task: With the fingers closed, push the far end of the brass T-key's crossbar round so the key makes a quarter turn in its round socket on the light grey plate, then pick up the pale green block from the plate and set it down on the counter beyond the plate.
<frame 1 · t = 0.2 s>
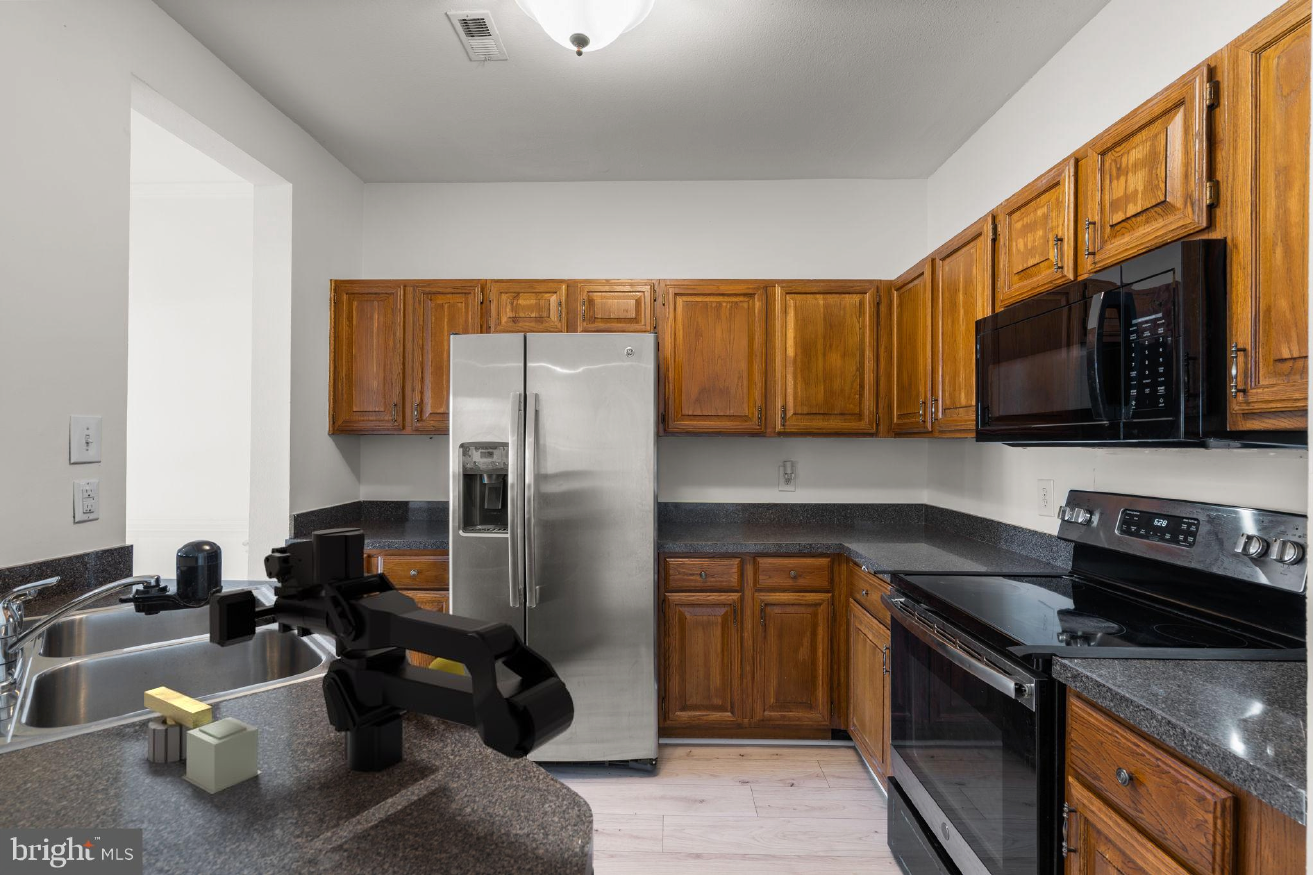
hand: (256, 599, 89), 17 cm above the table, tool horizontal, fingers open, 9 cm apart
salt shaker: (394, 711, 93), on the table
lemon: (445, 710, 93), on the table
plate: (197, 771, 75), on the table
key: (153, 740, 81), point 1 cm above the table, touching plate
pale green block: (222, 774, 73), point 1 cm above the table, touching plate
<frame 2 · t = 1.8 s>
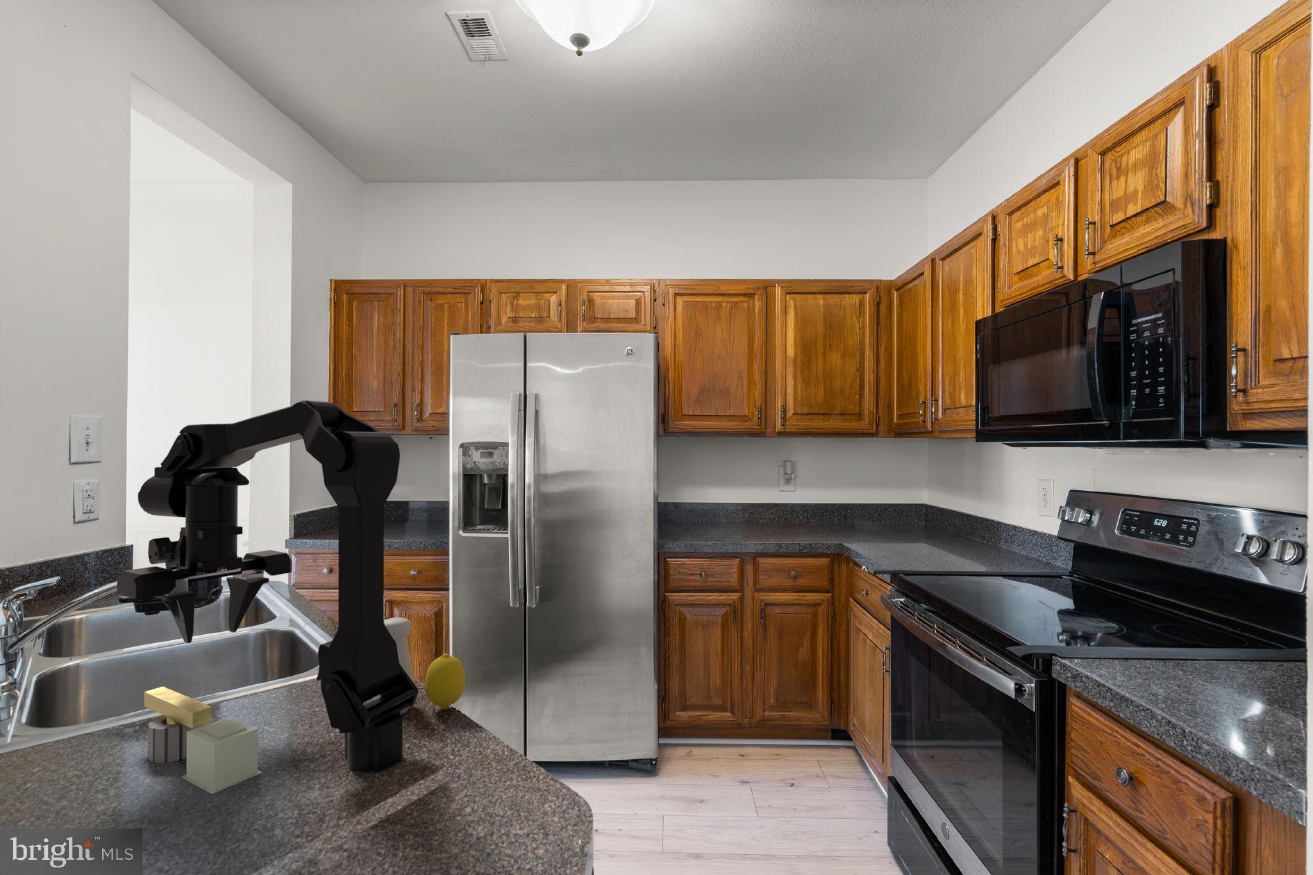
hand: (210, 637, 86), 13 cm above the table, tool pointing down, fingers open, 5 cm apart
nothing on the table moved.
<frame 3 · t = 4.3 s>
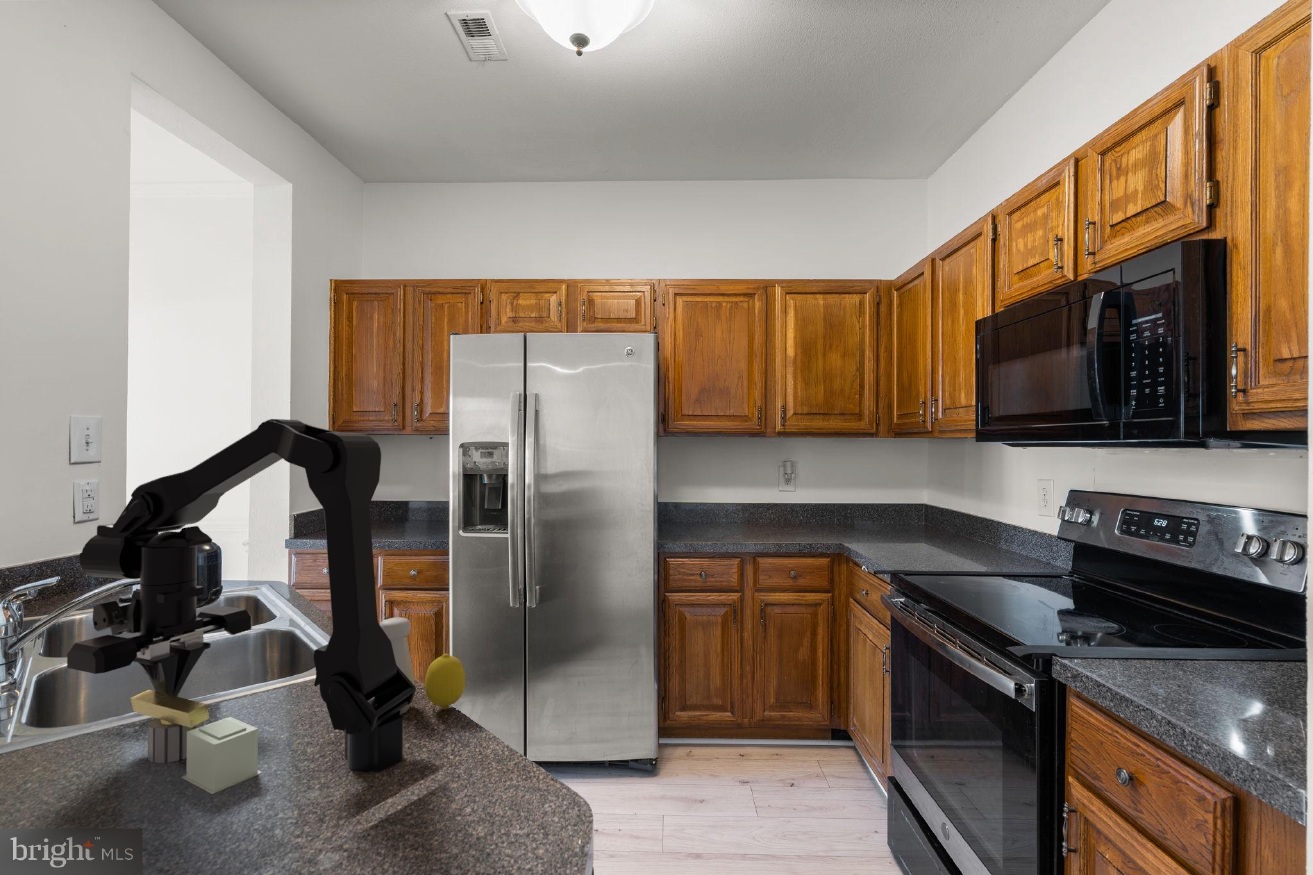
hand: (167, 704, 82), 5 cm above the table, tool pointing down, fingers closed
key: (150, 741, 81), point 1 cm above the table, tilted 10°, touching gripper, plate
everything else where it was.
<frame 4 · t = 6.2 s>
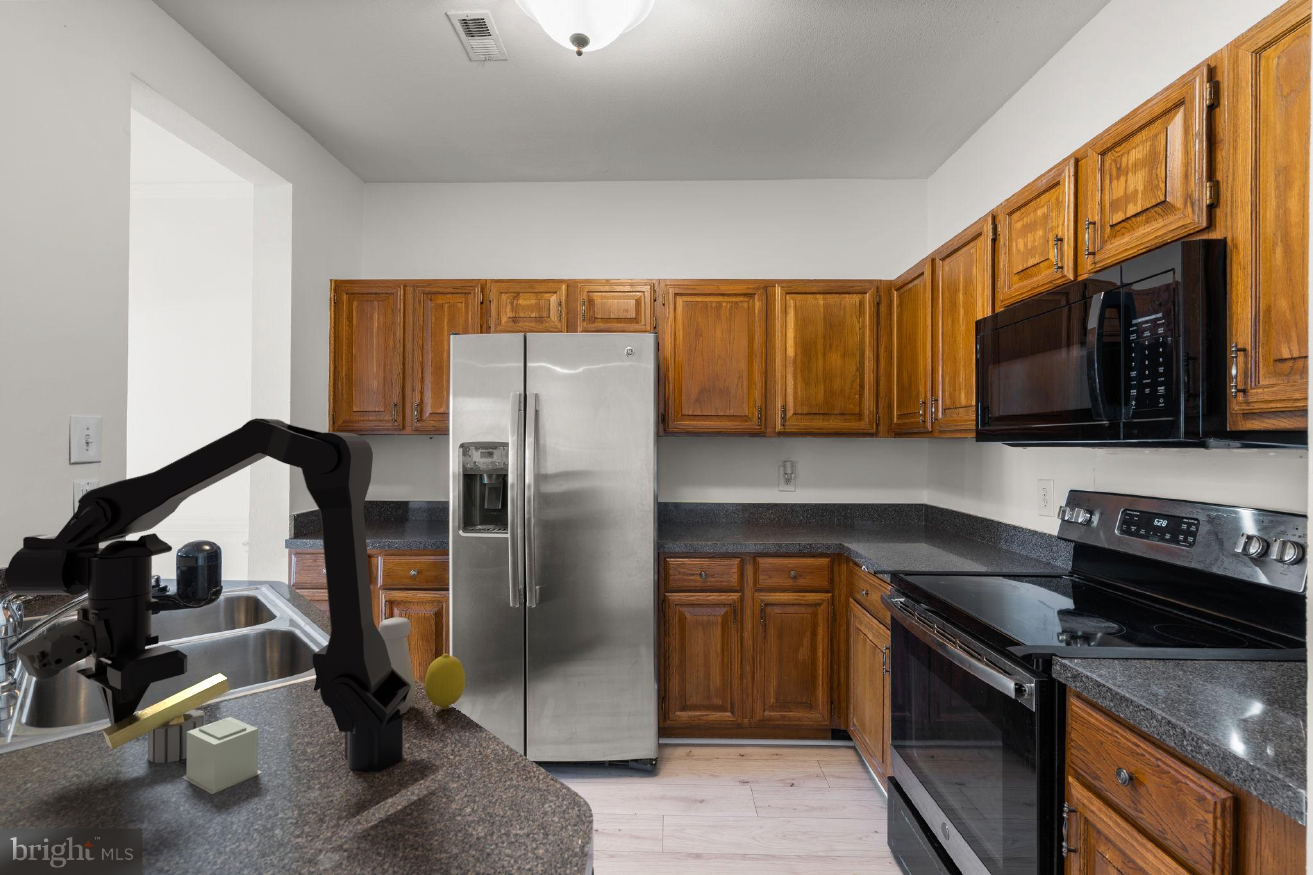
hand: (119, 728, 75), 5 cm above the table, tool pointing down, fingers closed
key: (120, 780, 74), resting on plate, tilted 15°, touching gripper
everything else where it was.
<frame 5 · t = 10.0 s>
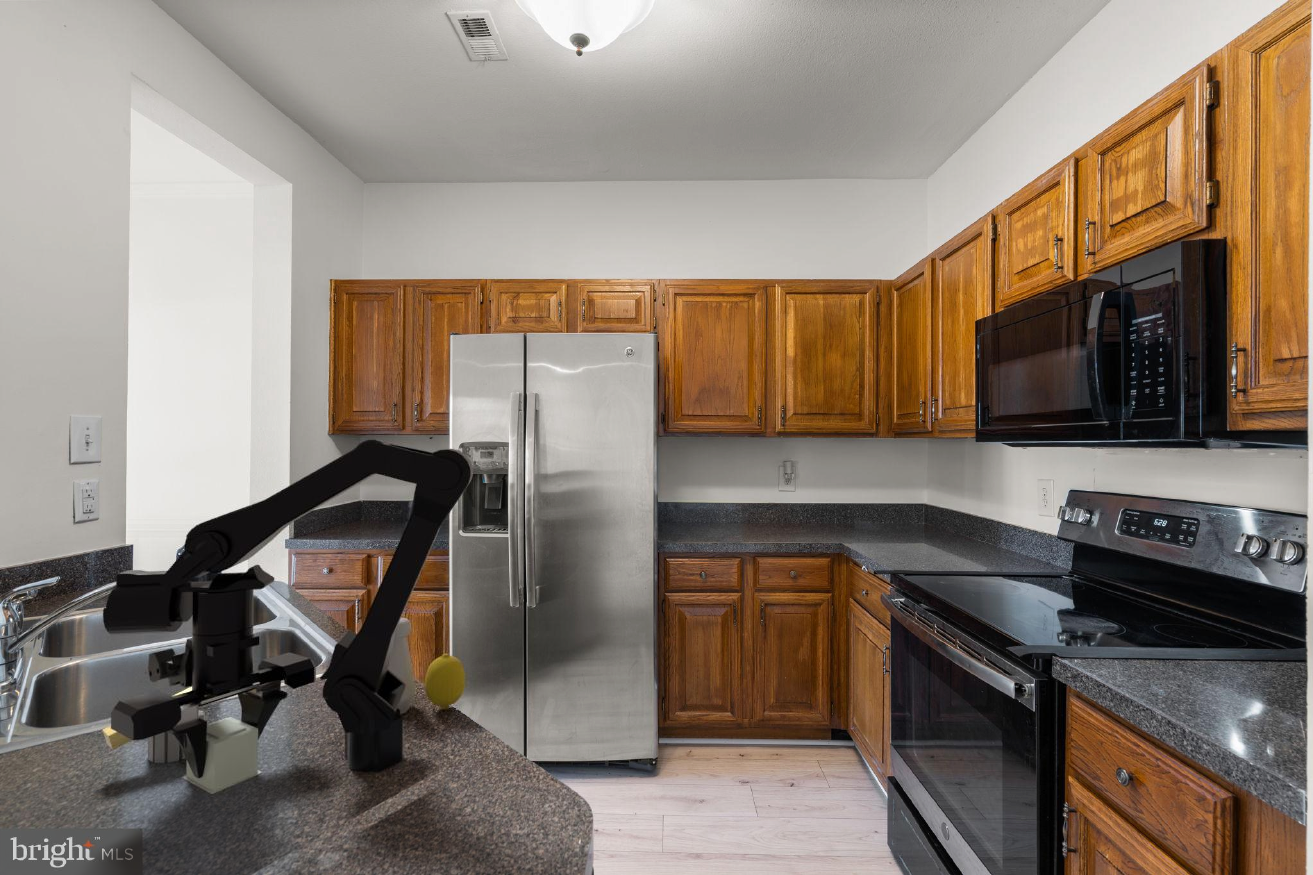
hand: (222, 767, 73), 2 cm above the table, tool pointing down, fingers closed on pale green block, 4 cm apart
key: (121, 780, 74), resting on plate, tilted 15°
pale green block: (222, 774, 73), point 1 cm above the table, touching gripper, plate
everything else where it was.
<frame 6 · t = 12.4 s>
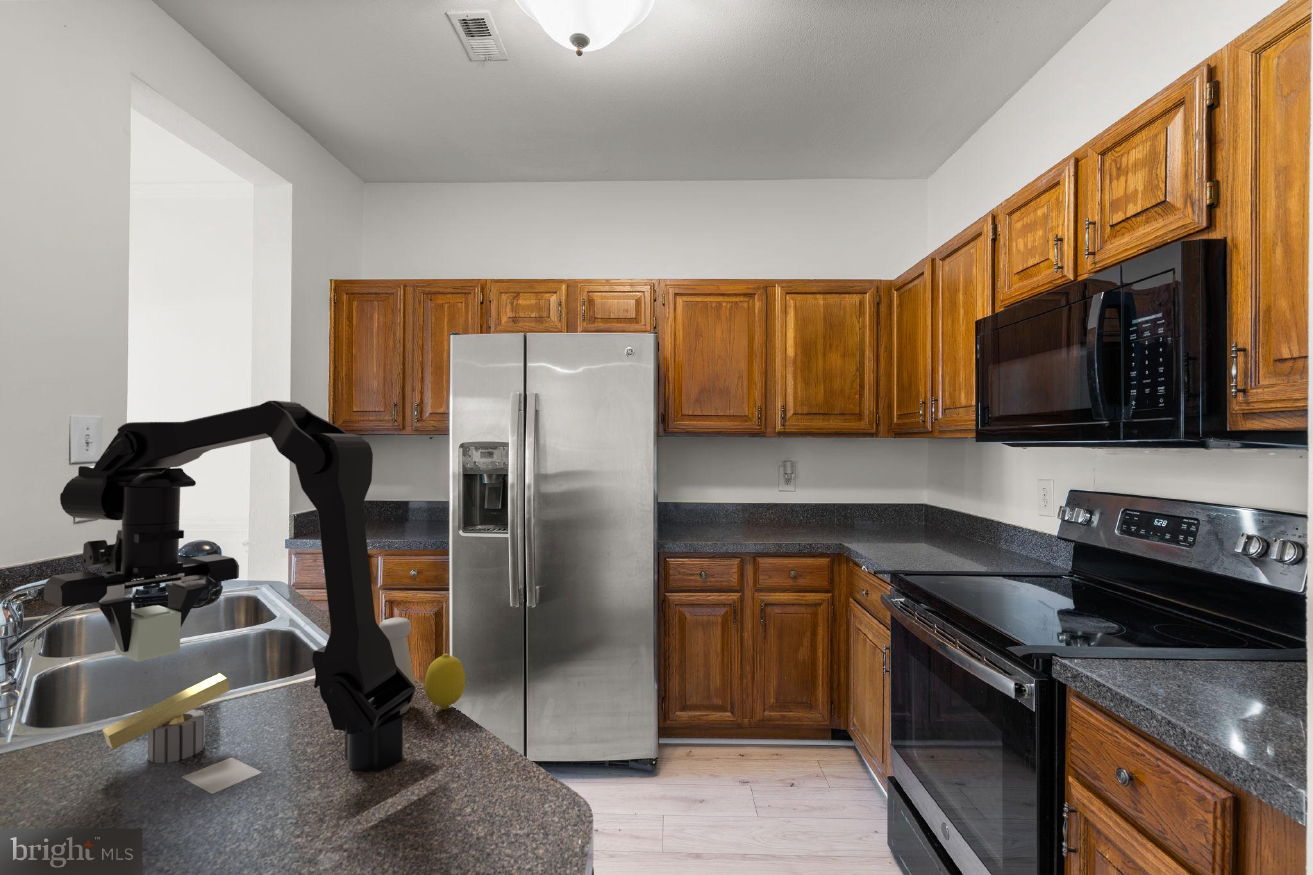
hand: (147, 646, 81), 13 cm above the table, tool pointing down, fingers closed on pale green block, 4 cm apart
pale green block: (147, 652, 81), point 12 cm above the table, touching gripper
everything else where it was.
when the fingers open (3 cm above the table, at t = 14.8 s): pale green block drops 2 cm, on the table.
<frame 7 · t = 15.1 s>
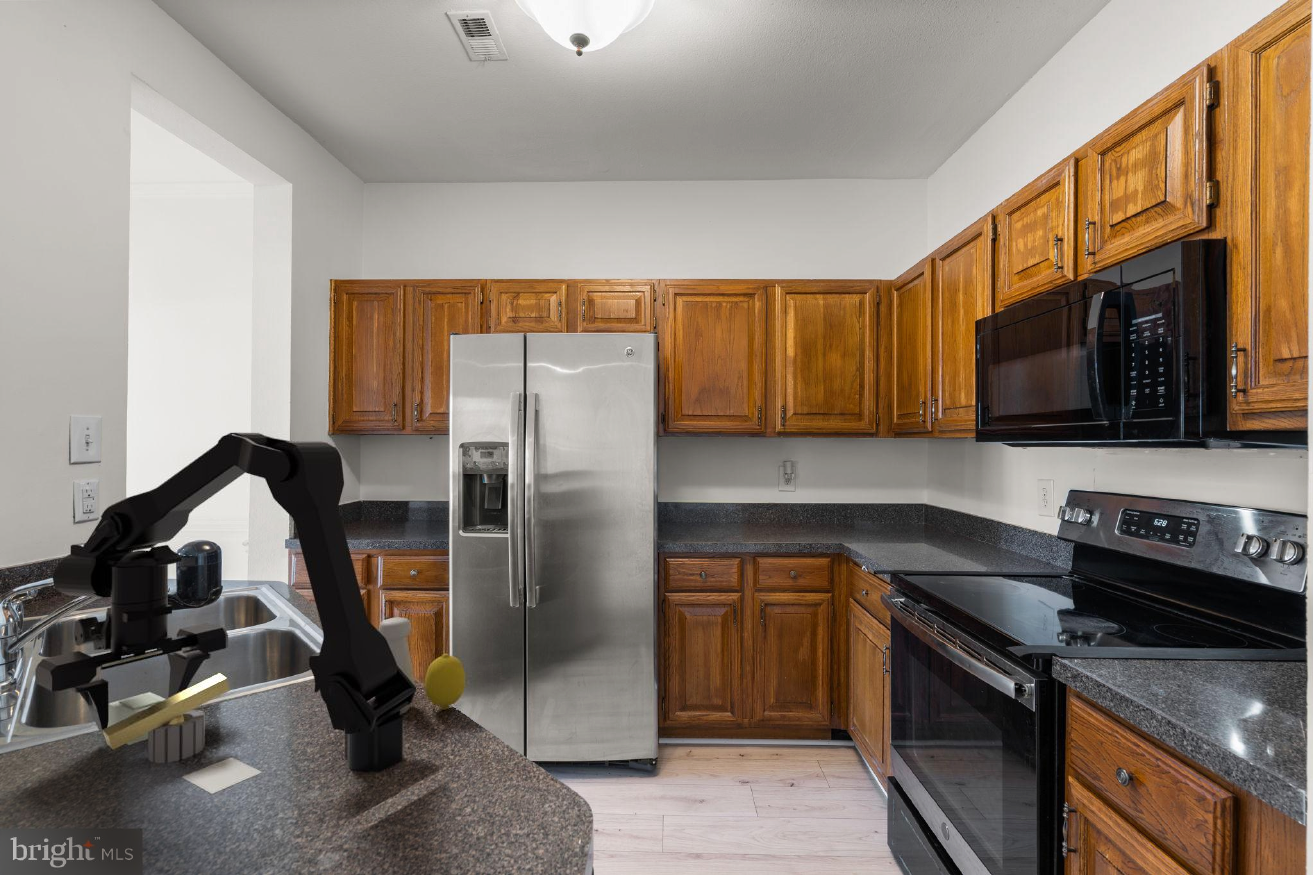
hand: (139, 720, 83), 3 cm above the table, tool pointing down, fingers open, 7 cm apart
pale green block: (139, 741, 83), on the table
everything else where it was.
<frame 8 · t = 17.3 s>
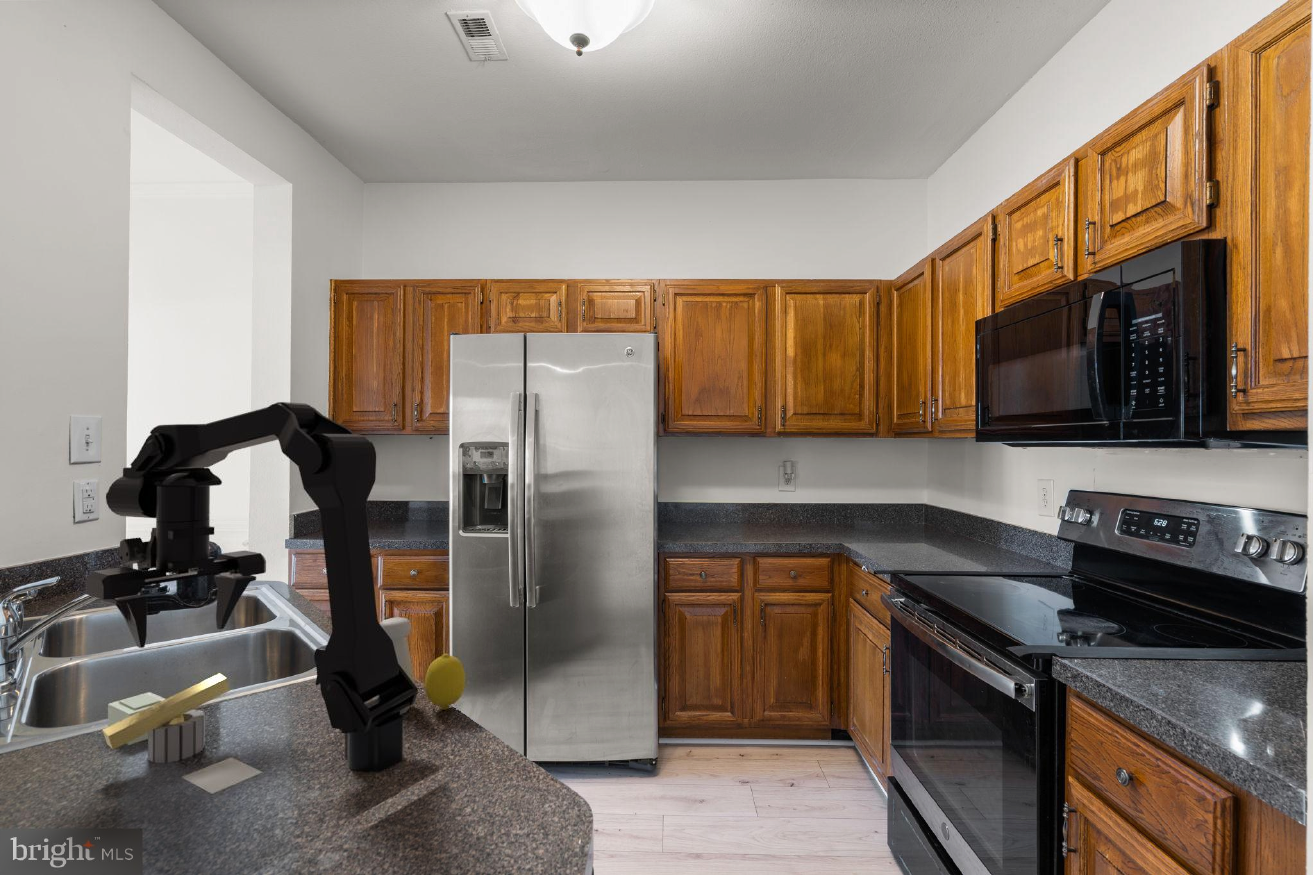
hand: (182, 637, 86), 12 cm above the table, tool pointing down, fingers open, 9 cm apart
nothing on the table moved.
at the end: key inside the target area (0.2 cm from its centre), resting on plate; pale green block inside the target area (0.3 cm from its centre), on the table; pale green block tilted 0° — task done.
